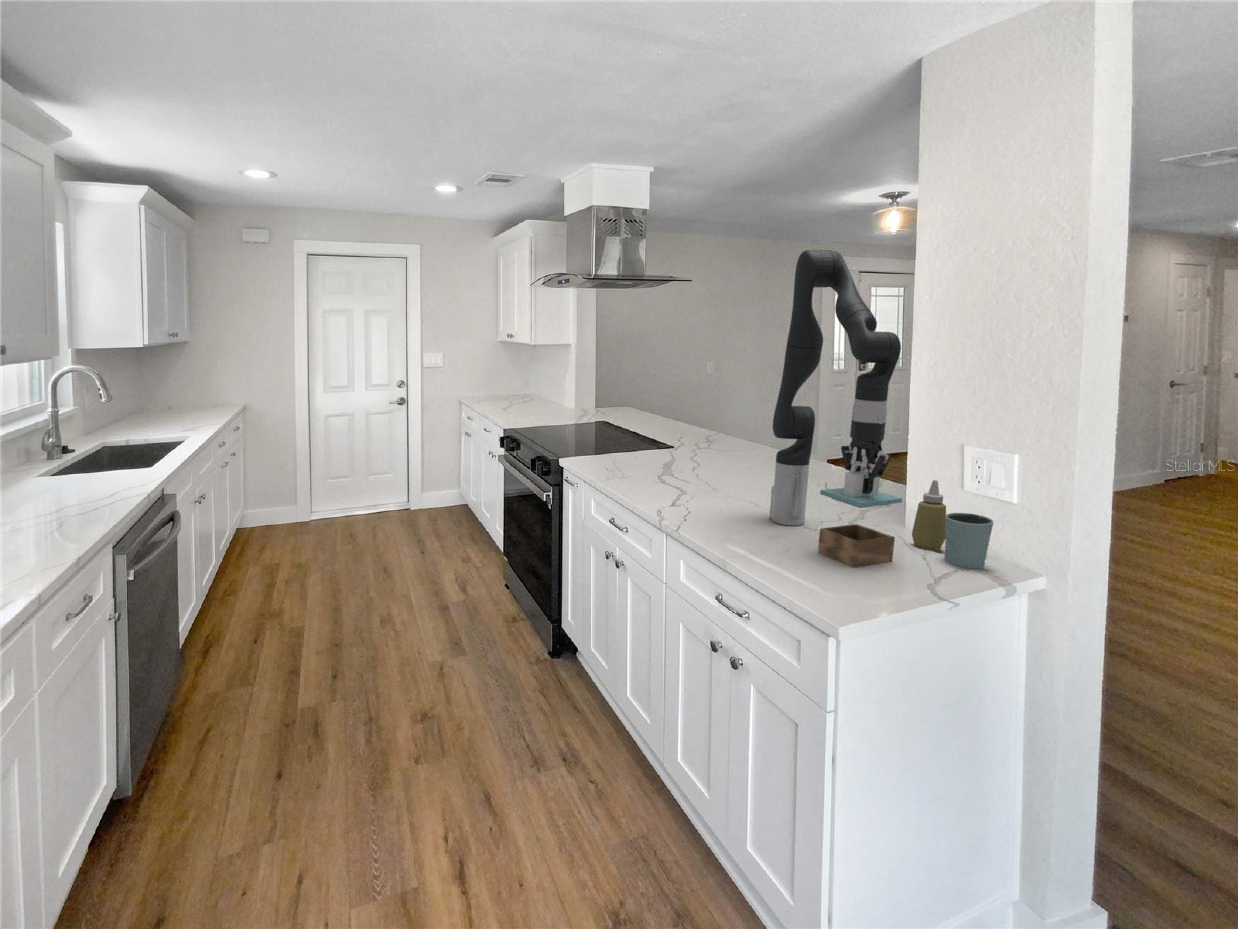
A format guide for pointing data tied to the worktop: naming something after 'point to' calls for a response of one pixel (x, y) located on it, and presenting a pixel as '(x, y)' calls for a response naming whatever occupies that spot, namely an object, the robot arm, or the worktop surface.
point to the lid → (860, 492)
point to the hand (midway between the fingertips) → (861, 491)
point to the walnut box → (856, 545)
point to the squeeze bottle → (930, 520)
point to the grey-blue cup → (967, 539)
